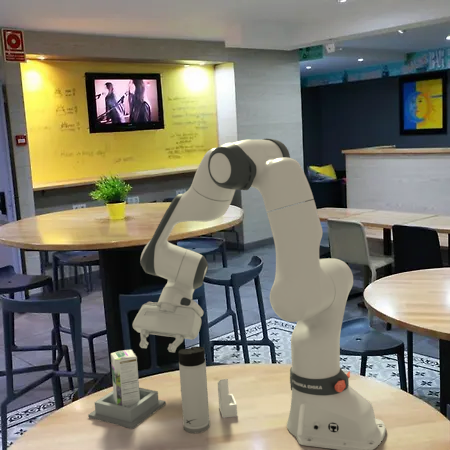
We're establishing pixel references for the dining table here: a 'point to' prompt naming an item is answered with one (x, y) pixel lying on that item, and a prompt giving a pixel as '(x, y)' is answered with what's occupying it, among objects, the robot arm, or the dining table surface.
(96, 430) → the dining table surface
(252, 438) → the dining table surface
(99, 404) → the holder
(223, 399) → the white angled block
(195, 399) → the travel mug
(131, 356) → the syrup box
